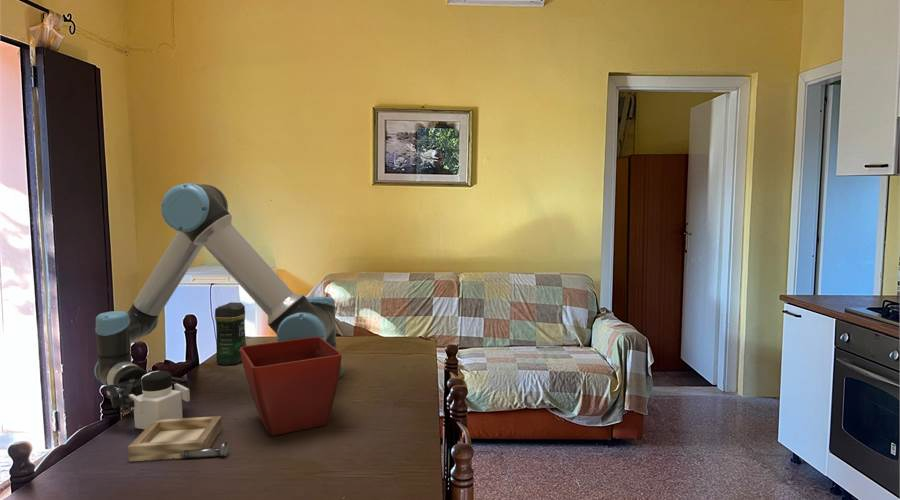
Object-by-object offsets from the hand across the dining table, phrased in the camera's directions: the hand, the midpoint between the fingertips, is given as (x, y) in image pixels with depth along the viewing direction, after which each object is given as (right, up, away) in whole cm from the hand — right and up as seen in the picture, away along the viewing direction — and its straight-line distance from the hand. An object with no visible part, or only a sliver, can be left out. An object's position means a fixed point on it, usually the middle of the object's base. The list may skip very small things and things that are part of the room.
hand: (165, 401), depth 129 cm
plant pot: (+27, -6, +4) cm, 28 cm away
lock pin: (+14, -8, -13) cm, 21 cm away
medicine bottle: (-3, -6, +4) cm, 8 cm away
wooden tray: (+6, -7, -7) cm, 12 cm away
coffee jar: (-6, -2, +55) cm, 55 cm away
